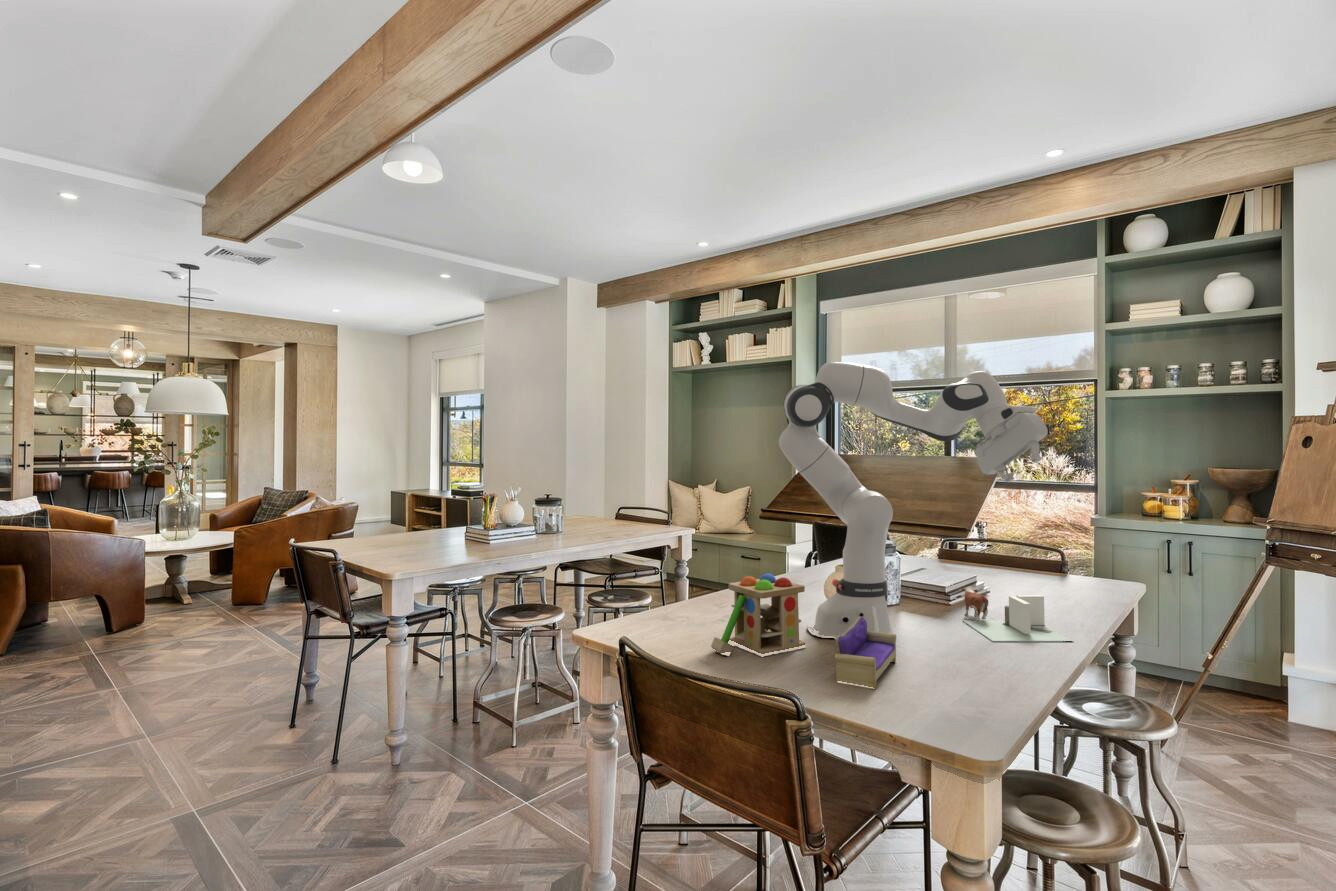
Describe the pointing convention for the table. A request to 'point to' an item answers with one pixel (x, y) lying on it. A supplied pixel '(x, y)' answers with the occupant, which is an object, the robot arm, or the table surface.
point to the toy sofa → (863, 654)
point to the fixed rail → (1031, 609)
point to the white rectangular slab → (1019, 615)
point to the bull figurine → (975, 602)
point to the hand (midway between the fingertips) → (1023, 471)
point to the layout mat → (1015, 632)
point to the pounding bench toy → (763, 615)
